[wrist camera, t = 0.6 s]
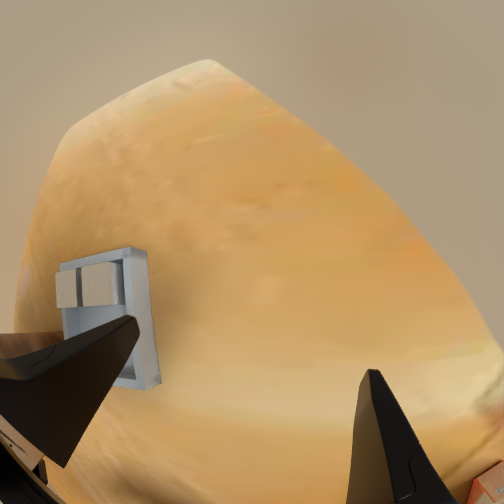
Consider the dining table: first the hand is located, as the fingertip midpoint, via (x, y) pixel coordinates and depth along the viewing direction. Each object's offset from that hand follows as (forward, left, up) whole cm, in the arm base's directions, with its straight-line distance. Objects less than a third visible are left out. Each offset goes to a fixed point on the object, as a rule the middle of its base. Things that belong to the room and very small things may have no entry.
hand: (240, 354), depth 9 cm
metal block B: (+5, +22, -14) cm, 26 cm away
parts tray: (+1, +19, -15) cm, 24 cm away
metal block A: (+5, +17, -14) cm, 22 cm away
